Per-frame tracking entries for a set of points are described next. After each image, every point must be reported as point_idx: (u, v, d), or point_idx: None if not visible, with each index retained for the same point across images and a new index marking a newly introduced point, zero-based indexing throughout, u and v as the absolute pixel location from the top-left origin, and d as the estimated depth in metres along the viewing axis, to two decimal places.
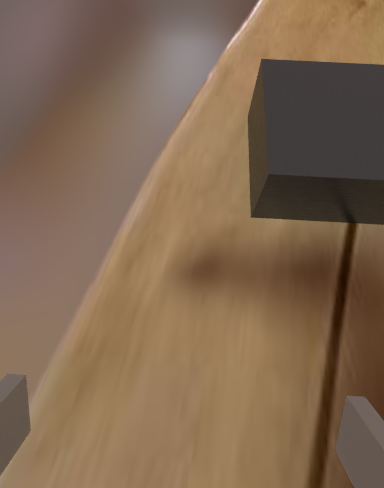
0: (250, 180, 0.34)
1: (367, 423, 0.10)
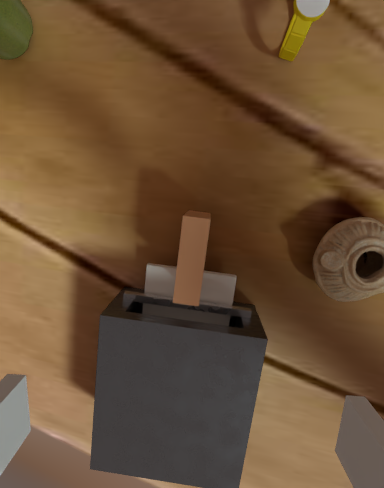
0: None
1: (368, 423, 0.10)
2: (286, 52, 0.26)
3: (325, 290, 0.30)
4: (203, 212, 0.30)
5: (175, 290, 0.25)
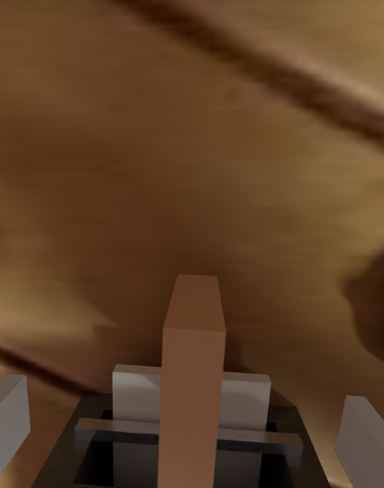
0: None
1: (367, 423, 0.10)
2: None
3: None
4: (205, 278, 0.17)
5: (160, 472, 0.12)
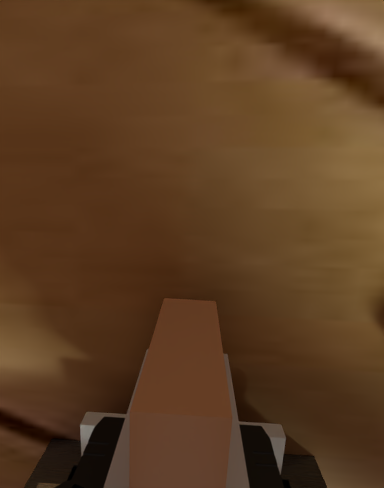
0: None
1: None
2: None
3: None
4: (199, 304, 0.13)
5: None
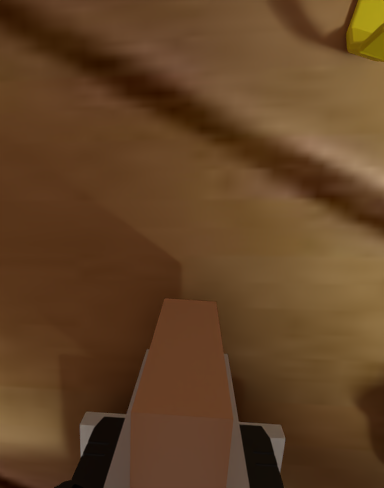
0: None
1: None
2: None
3: None
4: (200, 304, 0.13)
5: None
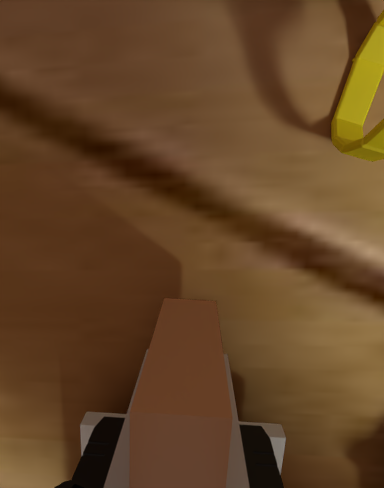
0: None
1: None
2: (366, 151, 0.10)
3: None
4: (199, 304, 0.13)
5: None
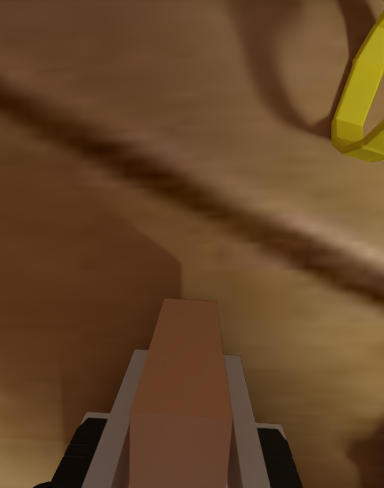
0: None
1: (228, 373, 0.12)
2: (365, 152, 0.10)
3: None
4: (199, 304, 0.13)
5: None
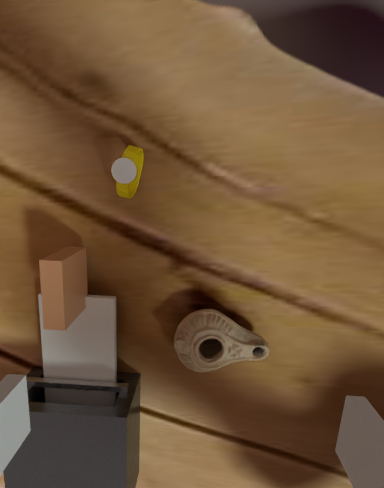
0: None
1: (367, 423, 0.10)
2: (122, 196, 0.33)
3: (185, 365, 0.38)
4: (79, 247, 0.35)
5: (44, 319, 0.31)
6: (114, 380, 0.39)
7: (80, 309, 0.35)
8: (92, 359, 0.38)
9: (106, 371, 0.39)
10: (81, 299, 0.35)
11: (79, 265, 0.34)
